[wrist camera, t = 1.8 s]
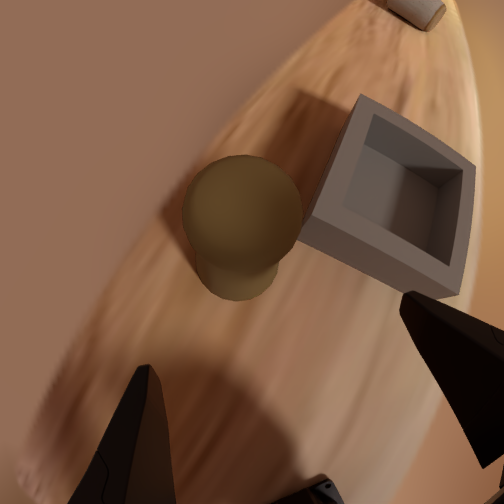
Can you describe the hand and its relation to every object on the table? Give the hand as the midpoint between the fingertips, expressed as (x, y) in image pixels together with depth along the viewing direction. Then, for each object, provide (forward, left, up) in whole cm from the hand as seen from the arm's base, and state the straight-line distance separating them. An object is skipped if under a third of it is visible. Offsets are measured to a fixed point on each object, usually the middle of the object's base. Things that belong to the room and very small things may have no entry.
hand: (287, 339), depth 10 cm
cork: (+5, -1, -12) cm, 13 cm away
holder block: (+4, -14, -12) cm, 19 cm away
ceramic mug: (+32, -43, -12) cm, 55 cm away
